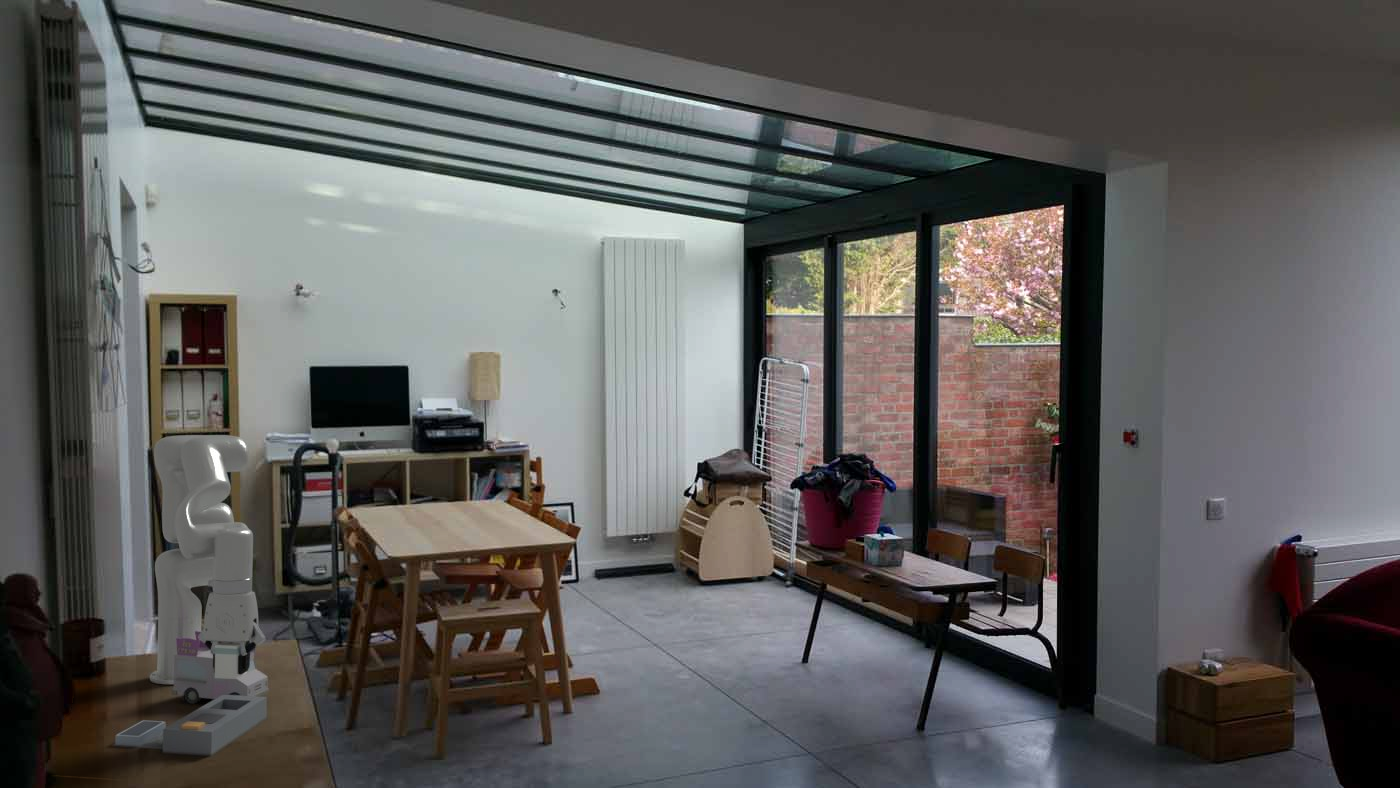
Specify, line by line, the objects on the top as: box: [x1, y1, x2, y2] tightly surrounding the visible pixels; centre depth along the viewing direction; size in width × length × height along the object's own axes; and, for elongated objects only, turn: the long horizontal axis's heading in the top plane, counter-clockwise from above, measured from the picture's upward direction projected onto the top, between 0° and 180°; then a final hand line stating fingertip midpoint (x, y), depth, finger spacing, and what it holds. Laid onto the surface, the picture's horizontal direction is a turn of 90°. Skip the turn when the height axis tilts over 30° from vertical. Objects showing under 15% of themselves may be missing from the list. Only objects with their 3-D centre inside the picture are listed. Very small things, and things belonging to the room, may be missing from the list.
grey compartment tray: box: [162, 695, 268, 757], centre depth 215 cm, size 22×10×6 cm, turn 176°
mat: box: [111, 733, 163, 750], centre depth 212 cm, size 10×12×1 cm
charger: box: [215, 642, 247, 679], centre depth 219 cm, size 5×5×7 cm
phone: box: [114, 719, 167, 746], centre depth 212 cm, size 9×5×2 cm, turn 176°
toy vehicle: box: [171, 631, 270, 705], centre depth 237 cm, size 9×20×15 cm, turn 78°
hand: (231, 671), depth 220 cm, fingers closed on charger, 4 cm apart
